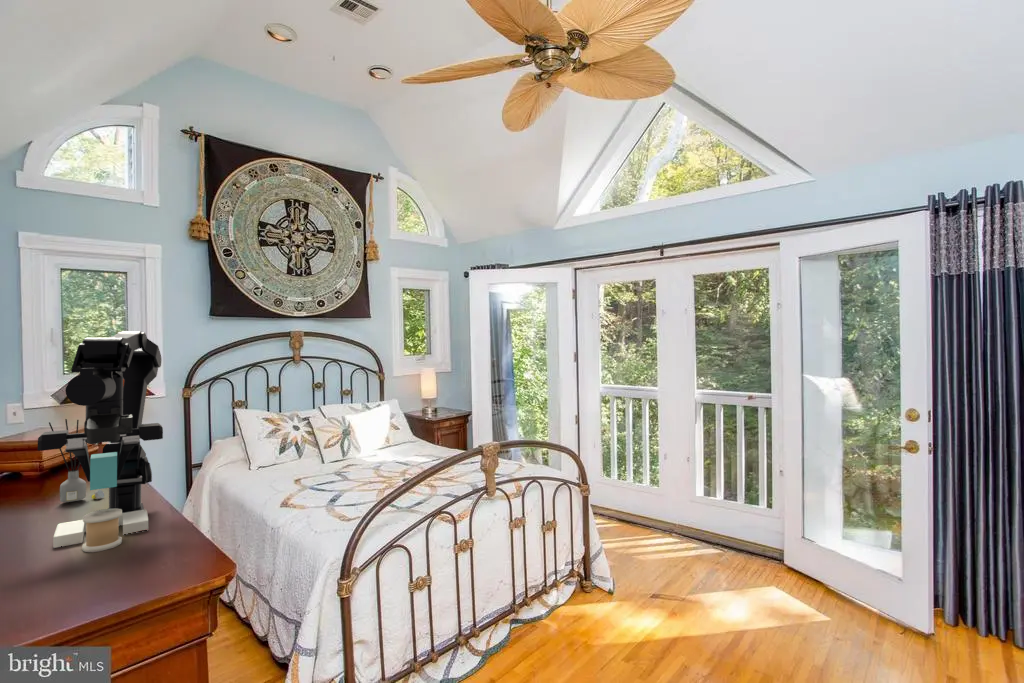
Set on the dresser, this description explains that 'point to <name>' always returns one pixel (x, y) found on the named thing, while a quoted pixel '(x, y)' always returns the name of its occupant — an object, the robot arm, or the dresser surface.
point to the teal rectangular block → (103, 470)
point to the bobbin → (102, 530)
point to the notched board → (75, 529)
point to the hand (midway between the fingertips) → (103, 479)
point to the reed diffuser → (74, 482)
